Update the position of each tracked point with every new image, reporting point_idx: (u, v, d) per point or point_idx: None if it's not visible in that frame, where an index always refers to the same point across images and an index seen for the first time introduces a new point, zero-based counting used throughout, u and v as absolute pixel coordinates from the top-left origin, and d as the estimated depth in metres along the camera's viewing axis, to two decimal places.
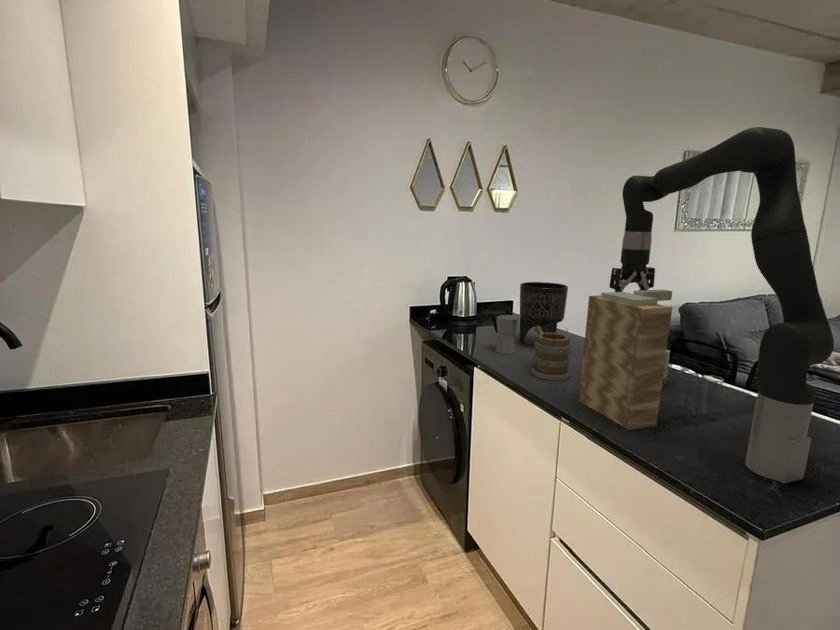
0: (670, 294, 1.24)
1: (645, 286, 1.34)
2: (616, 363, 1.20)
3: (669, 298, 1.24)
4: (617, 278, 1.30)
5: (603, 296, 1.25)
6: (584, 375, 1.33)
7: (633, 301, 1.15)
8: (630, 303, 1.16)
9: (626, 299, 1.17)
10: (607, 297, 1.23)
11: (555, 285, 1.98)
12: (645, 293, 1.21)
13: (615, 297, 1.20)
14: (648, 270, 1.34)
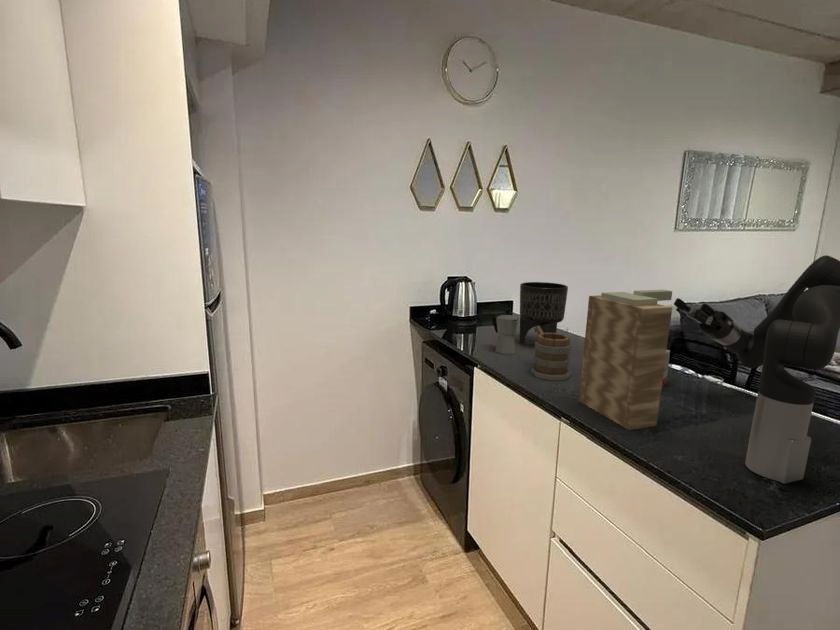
0: (670, 294, 1.24)
1: None
2: (616, 363, 1.20)
3: (669, 298, 1.24)
4: None
5: (603, 296, 1.25)
6: (584, 375, 1.33)
7: (633, 301, 1.15)
8: (630, 303, 1.16)
9: (626, 299, 1.17)
10: (607, 297, 1.23)
11: (555, 285, 1.98)
12: (645, 293, 1.21)
13: (615, 297, 1.20)
14: None
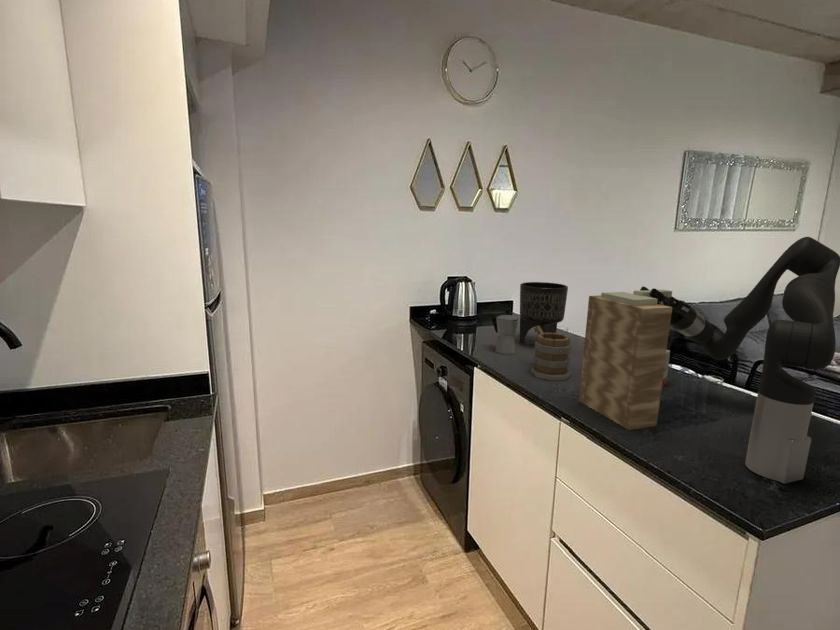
0: (670, 294, 1.24)
1: None
2: (616, 363, 1.20)
3: None
4: None
5: (603, 296, 1.25)
6: (584, 375, 1.33)
7: (633, 301, 1.15)
8: (630, 303, 1.16)
9: (626, 299, 1.17)
10: (607, 297, 1.23)
11: (555, 285, 1.98)
12: (645, 293, 1.21)
13: (615, 297, 1.20)
14: None
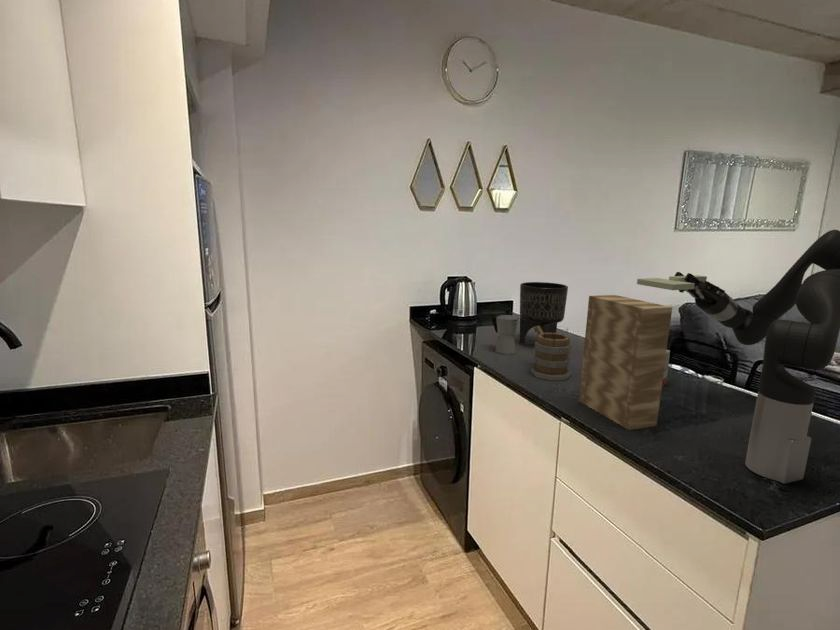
0: (705, 279, 1.27)
1: None
2: (616, 363, 1.20)
3: None
4: None
5: (639, 282, 1.28)
6: (584, 375, 1.33)
7: (671, 286, 1.18)
8: (668, 288, 1.19)
9: (664, 284, 1.20)
10: (643, 283, 1.27)
11: (555, 285, 1.98)
12: (681, 278, 1.24)
13: (652, 283, 1.24)
14: None
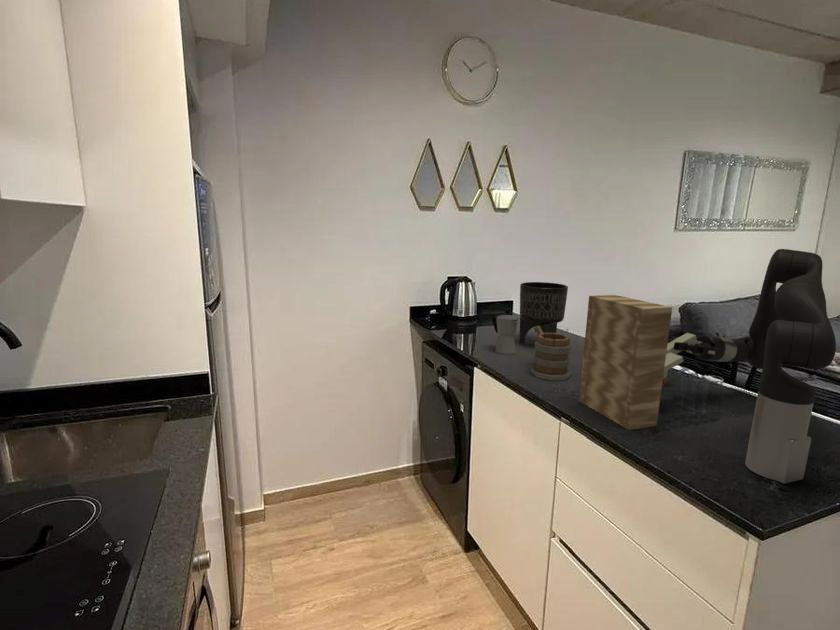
0: (695, 338, 1.32)
1: (689, 343, 1.31)
2: (616, 363, 1.20)
3: None
4: (675, 338, 1.38)
5: None
6: (584, 375, 1.33)
7: None
8: None
9: None
10: None
11: (555, 285, 1.98)
12: (670, 349, 1.30)
13: None
14: None
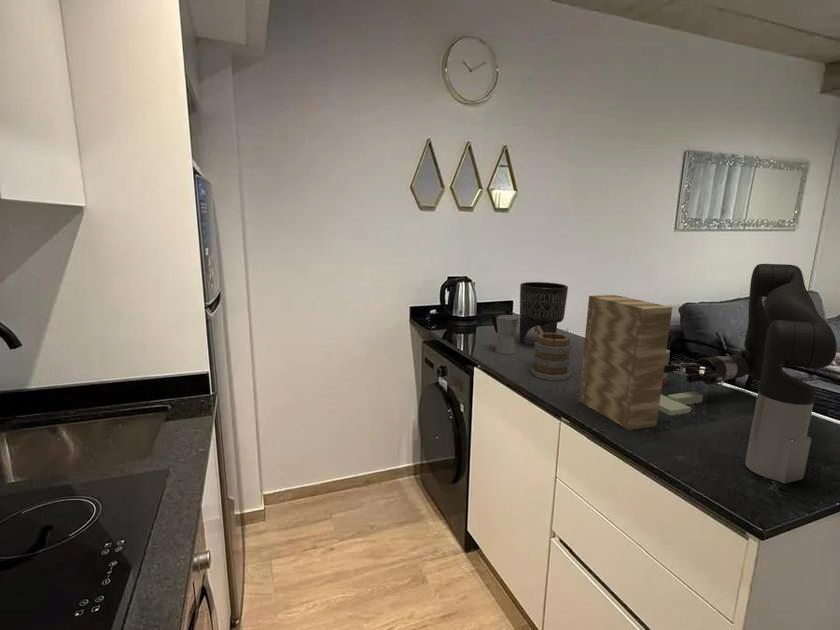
0: (701, 397, 1.36)
1: (700, 373, 1.30)
2: (616, 363, 1.20)
3: (700, 401, 1.36)
4: (676, 361, 1.41)
5: None
6: (584, 375, 1.33)
7: (669, 411, 1.27)
8: (666, 412, 1.28)
9: (662, 408, 1.29)
10: None
11: (555, 285, 1.98)
12: (679, 399, 1.33)
13: None
14: None
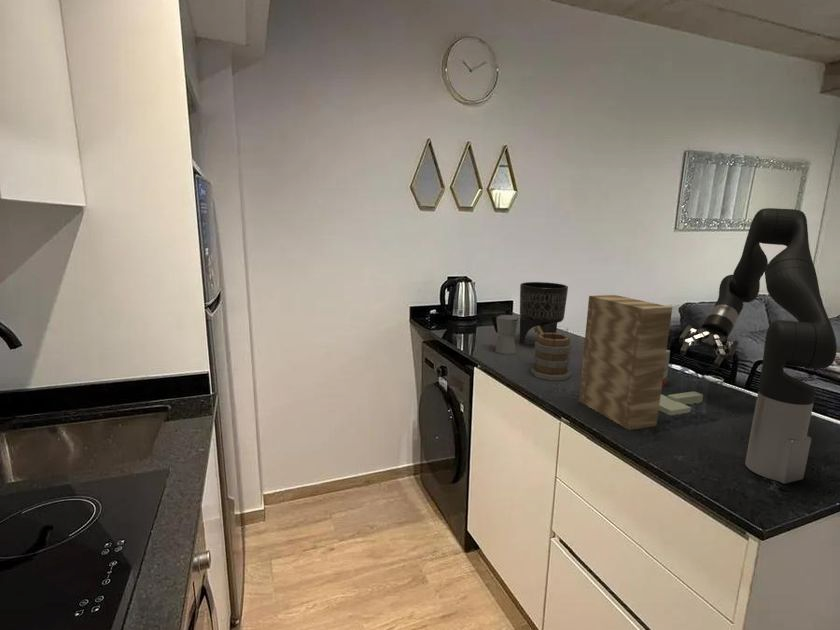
0: (701, 397, 1.36)
1: (720, 350, 1.31)
2: (616, 363, 1.20)
3: (700, 401, 1.36)
4: (685, 331, 1.38)
5: None
6: (584, 375, 1.33)
7: (669, 411, 1.27)
8: (666, 412, 1.28)
9: (662, 407, 1.29)
10: None
11: (555, 285, 1.98)
12: (679, 399, 1.33)
13: None
14: (730, 343, 1.33)
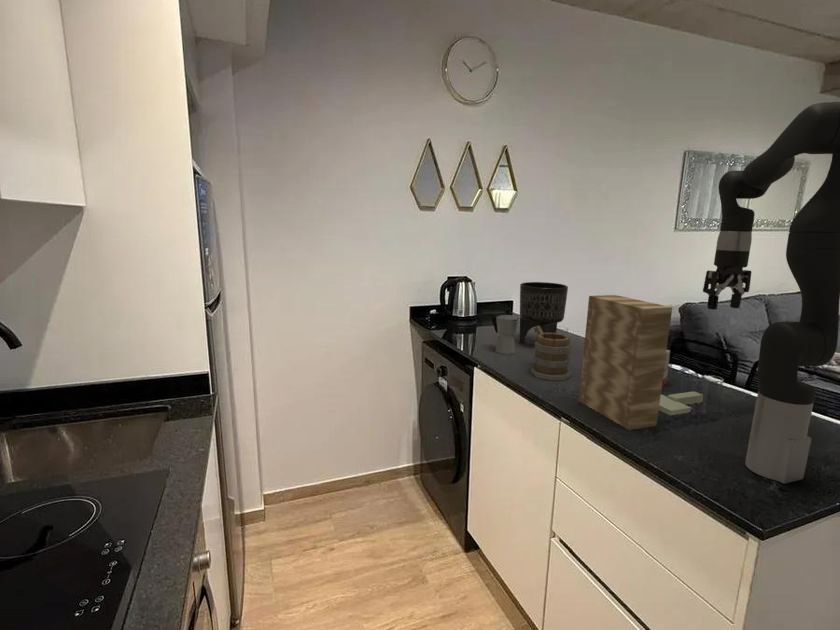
0: (701, 398, 1.36)
1: (740, 290, 1.23)
2: (616, 363, 1.20)
3: (700, 401, 1.36)
4: (713, 282, 1.19)
5: None
6: (584, 375, 1.33)
7: (669, 411, 1.27)
8: (666, 412, 1.28)
9: (662, 407, 1.29)
10: None
11: (555, 285, 1.98)
12: (679, 399, 1.33)
13: None
14: (744, 273, 1.23)
